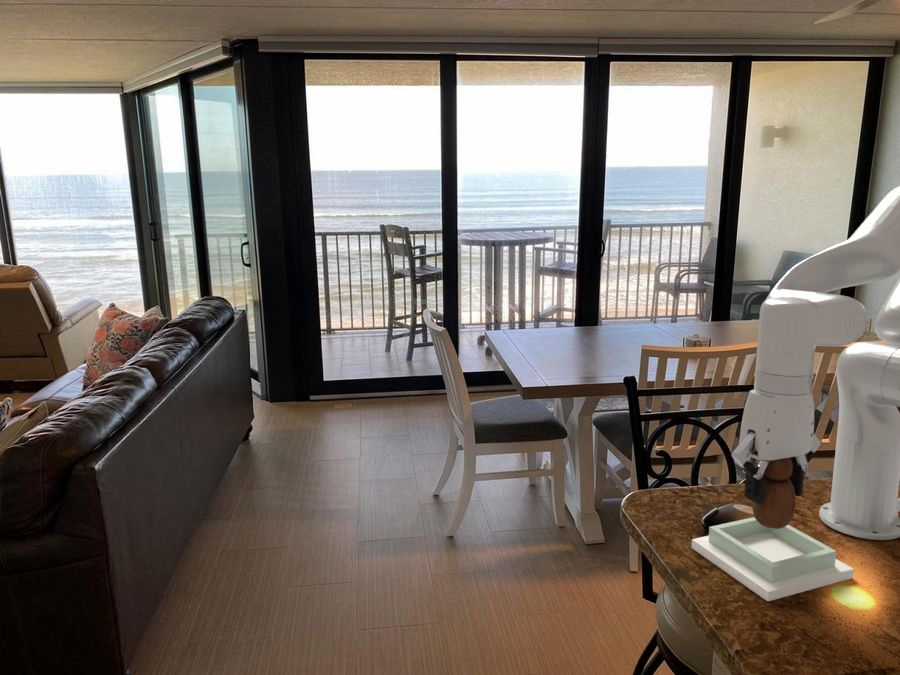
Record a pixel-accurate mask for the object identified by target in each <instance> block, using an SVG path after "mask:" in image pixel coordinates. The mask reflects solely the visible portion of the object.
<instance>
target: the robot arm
mask: <svg viewBox="0 0 900 675" xmlns="http://www.w3.org/2000/svg"><path fill="white" fill-rule="evenodd" d="M899 271H900V185H899V186H898V187H895V188H894V189H892V190H890V191H889V192H888V193H886V195H885V196H884V197H883V198H882V199H881V200H880V201H879V203H878V204H877V205H876V206H875V208H874V209H873V210H872V211H871V212H870V213H869V215H868V216H867V217H866V218H865V219H864V220H863V222H862V223H860V225H859V227H857V229H856V230H855V231H854V232H853V233H852V234H851V235H850V237H849V238H848V239H847V240H845V241H842V242H840V243H837V244H834V245H833V246H830V247H828V248H827V249H826V248H825V249H824V250H823V251H819V253H816V254H814V255H812V256H810V257H807V258H806V259H804V260H802V261H800V262H799V263H797V264H795V265H794V266H793V267H791V268H790V269H788V271H786V273H785V274H784V275H783V276H782V277H781V278H780V280H779V281H778V282H777V283H776V284H775V285H774V287H773V288H772V290H771V291H770V292H769V294H768V295H767V297H766V298H765V300H764V301H763V302H762V303H761V306H760V309H759V320H758V329H757V330H758V331H757V342H756V344H757V345H756V346H757V347H756V358H755V370H754V372H755V373H754V381H753V382H754V384H753V389H751V390H749V391H748V395H747V397H746V402H745V404H744V409H743V414H742V420H741V425H740V433H739V444H738V445H737V447H735V448H734V450H733V451H732V452H731V457H732V459H733V460H734V461H735V462H736V463H737V466H738V467H739V468H740V469H741V470H742V473H744V474H745V480H744V481H745V482H744V483H745V484H744V497H745V498H747V499H748V500H750V501H751V500H752V501H753V502H755V503H757V504H763V502H764V491H765V479H764V478H762V476H763V473H764V471H765V469H766V467H767V465H768V462H769V461H773V460H779V459H783V458H791V460H792V464H793V471H792V474H791V476H790V477H789V478H788V479H789V480H790V481H791V483H792V484H793V487H794V490H795V497H801V496H802V495H803V489H804V488H803V486H804V479H805V471H807V470H808V468H809V462H810V461H811V460H812V458H814V453H816V451H817V450H818V449H819V447H820V446H821V444H822V443H821V442H822V441H821V440H820V439H819V438H818V437H817V435H816V434H815V432H814V430H815V404H814V395H813V391H812V384H813V380H814V377H815V376H814V364H815V355H816V354H815V353H816V352H815V351H816V347H833V348H834V347H844V346H847V347H845V348H844V349H843V350H842V351H841V353H840V355H839V356H838V359H837V360H836V361H837V362H836V380H837V382H836V383H837V389H838V390H837V391H838V402H839V404H838V405H839V407H838V420H837V421H838V422H837V423H838V424H837V432H836V443H835V455H834V462H833V471H832V472H833V474H832V475H833V476H832V483H831V492H830V502H827V503H824V504H823V505H821V506H820V508H819V512H818V513H819V514H818V515H819V518H820V520H821V521H822V522H823V523H824V524H825V525H826V526H828V527H829V528H831V529H833V530H834V531H837V532H839V533H842V534H844V535H845V534H846V535H848V536H850V537H851V536H852V537H855V538H860V539H864V540H872V541H874V540H875V541H890V540H895V539H898V538H900V517H899V512H900V497H898V496H899V486H900V411H899V409H898V408H900V276H899V277H898V278H897V281H896V283H895V284H894V286H893V288H892V289H891V291H890V292H889V294H888V296H887V298H886V300H885V301H884V303H883V305H882V306H881V308H880V309H879V312H878V314H877V315H876V318H875V322H874V331H875V334H876V336H877V337H878V339H880V340H881V341H883V342H879V341H859V342H856V341H857V340H859V339H860V337H862V336H863V334H864V333H865V331H866V329H867V327H868V326H867V325H868V319H869V317H868V313H867V310H866V308H865V307H864V305H863V304H862V303H861V302H860V301H858V300H857V299H855V298H853V297H851V296H846V295H841V294H835V293H829V292H832V291H836V290H839V289H844V288H849V287H856V286H860V285H861V286H862V285H865V284H870V283H874V282H875V283H876V282H879V281H883V280H885V279H888V278H891V277H893V276H894V275H895V274H897V273H898V272H899ZM854 342H855V343H854ZM756 460H757V461H758V463H757V465H756V466H755V463H756Z"/></svg>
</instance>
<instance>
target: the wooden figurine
mask: <svg viewBox="0 0 900 675" xmlns="http://www.w3.org/2000/svg"><path fill="white" fill-rule="evenodd" d="M792 471H793V464H792V460H791V458H783V459H779V460H773V461H769V462H768V465H767V467H766V469H765V471H764V473H763V476H762V478H764V479H765V491H764V502H763V504H757V503H755V502H753V501H752V500H750V501H751V508H752V513H753V517H755V519H756V520H757V521H758V522H759V523H760V524H761V525H763V526H765V527H768V528H774V529H780V528H783V527H785V526H787V525H789V523H790V522H791V520H792V518H793V515H794V513H795V509H796V508H795V507H796V495H795V490H794V487H793V484H792V483H791V481H790V480H789V479H788V478H789V477H790V476H791V474H792Z"/></svg>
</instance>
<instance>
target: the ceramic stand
mask: <svg viewBox="0 0 900 675" xmlns="http://www.w3.org/2000/svg"><path fill="white" fill-rule="evenodd" d="M708 529H709V530H708V535H706V536H700V537H696V538H691V549H692V550H694V551H695V552H697V553H698V554H700V556H702V557H704V558H705V559H707V560H708V561H709V562H711V563H712V564H713V565H715V566H716V567H718V568H719V569H721V570H722V571H724V572H725V573H727V574H728V575H729V576H730V577H732V578H733V579H735V580H736V581H738V582H739V583H740V584H742V585H744V586H745V587H746V588H748V589H749V590H750V591H752V592H754V593H755V594H756V595H758V596H759V597H760V598H762V599H763V600H765V601H767V602H770V601H771V602H772V601H775V600H779V599H782V598H785V597H789V596H793V595H796V594H800V593H803V592H806V591H807V592H808V591H811V590H816V589H818V588H822V587H825V586H829V585H833V584H836V583H840V582H841V583H842V582H845V581H847V580H848V581H849V580H851V579H854V575H855V574H854V572H855V568H854V567H852V566H849V565H848V564H846V563H845V562H842V561H840V560H839V559H837V558H836V557H837V550H835V549H833V548H831V547H830V546H828V545H826V544H825V543H822V542H820V541H819V540H817V539H815V538H814V537H812V536H810V535H808V534H806V533H805V532H803V531H800V530H799V529H797V528H796V527H793V526H792V525H789V524H788V525H787V526H785V527H783V528H780V529H774V528H768V527H765V526H763V525H761V524H760V523H759V522H758V521H757V520H756V519H755V517H754V516H753V517H748V518H744V519H739V520H735V521H729V522H726V523H721V524H717V525H712V526H709V527H708Z"/></svg>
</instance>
